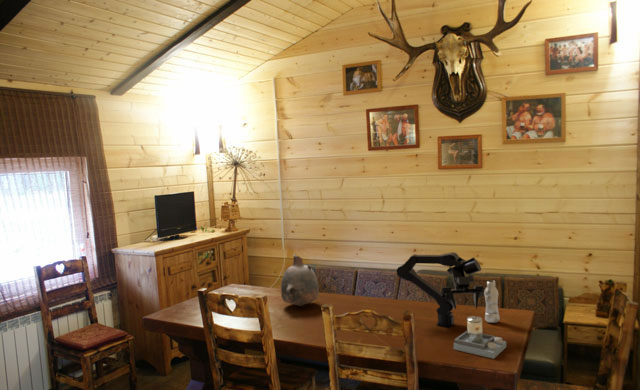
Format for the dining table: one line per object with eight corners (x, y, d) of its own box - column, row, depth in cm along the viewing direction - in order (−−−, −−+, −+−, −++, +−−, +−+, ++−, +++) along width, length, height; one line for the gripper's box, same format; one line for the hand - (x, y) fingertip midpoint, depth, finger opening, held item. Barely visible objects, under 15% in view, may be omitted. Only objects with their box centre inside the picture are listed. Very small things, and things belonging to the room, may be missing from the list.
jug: (319, 312, 259) (316, 257, 257) (279, 314, 259) (276, 259, 257) (319, 299, 283) (317, 249, 281) (283, 300, 284) (281, 251, 281)
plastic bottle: (500, 324, 227) (499, 283, 225) (485, 324, 228) (484, 283, 226) (498, 320, 233) (497, 279, 231) (484, 319, 234) (482, 279, 233)
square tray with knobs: (453, 349, 201) (453, 338, 201) (467, 338, 212) (467, 328, 211) (493, 358, 190) (493, 347, 190) (506, 347, 200) (506, 336, 200)
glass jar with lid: (465, 338, 205) (465, 316, 204) (480, 337, 205) (479, 315, 204) (471, 345, 197) (470, 323, 196) (486, 345, 196) (485, 322, 196)
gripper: (441, 269, 217) (447, 300, 207) (482, 268, 216) (491, 298, 206) (438, 282, 226) (444, 312, 216) (478, 280, 225) (486, 310, 215)
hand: (466, 308), depth 213 cm, fingers open, 9 cm apart
